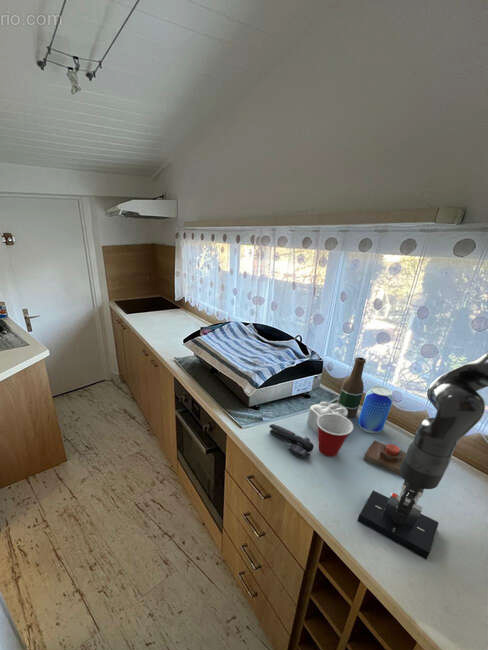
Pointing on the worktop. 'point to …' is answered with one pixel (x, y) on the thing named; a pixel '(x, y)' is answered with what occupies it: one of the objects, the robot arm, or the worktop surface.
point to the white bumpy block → (323, 409)
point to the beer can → (375, 409)
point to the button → (392, 449)
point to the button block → (384, 457)
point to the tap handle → (394, 502)
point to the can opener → (293, 441)
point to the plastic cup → (332, 433)
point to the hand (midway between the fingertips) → (401, 513)
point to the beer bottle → (353, 389)
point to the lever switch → (399, 526)
